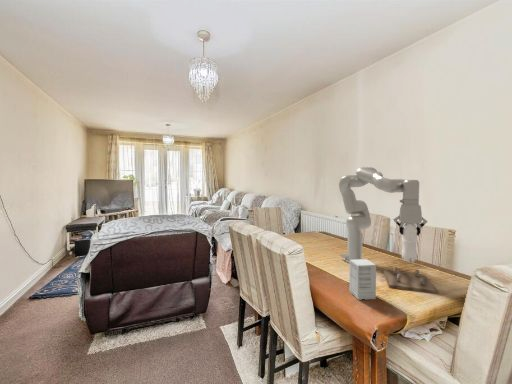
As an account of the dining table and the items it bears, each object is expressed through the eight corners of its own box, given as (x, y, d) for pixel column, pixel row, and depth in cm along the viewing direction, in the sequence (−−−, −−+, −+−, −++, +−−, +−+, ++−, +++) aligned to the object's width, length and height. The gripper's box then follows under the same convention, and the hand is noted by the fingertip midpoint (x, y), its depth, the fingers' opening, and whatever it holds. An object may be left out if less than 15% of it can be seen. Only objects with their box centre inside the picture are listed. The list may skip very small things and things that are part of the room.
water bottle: (398, 258, 143) (399, 215, 141) (410, 258, 143) (411, 214, 142) (407, 263, 135) (408, 217, 134) (419, 262, 136) (421, 216, 135)
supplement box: (376, 299, 121) (377, 265, 120) (357, 300, 120) (358, 265, 119) (365, 290, 130) (366, 258, 129) (348, 291, 130) (349, 259, 129)
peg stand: (389, 287, 134) (389, 277, 133) (383, 272, 154) (383, 263, 154) (438, 293, 126) (438, 283, 126) (425, 277, 147) (425, 267, 146)
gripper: (393, 202, 137) (393, 234, 138) (431, 203, 131) (430, 237, 132) (391, 201, 144) (390, 232, 145) (427, 202, 138) (426, 234, 139)
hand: (409, 234), depth 138 cm, fingers closed on water bottle, 7 cm apart
